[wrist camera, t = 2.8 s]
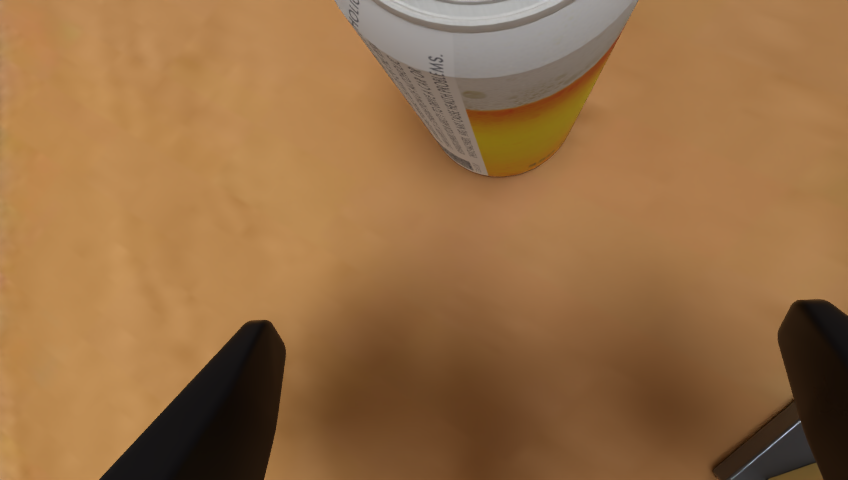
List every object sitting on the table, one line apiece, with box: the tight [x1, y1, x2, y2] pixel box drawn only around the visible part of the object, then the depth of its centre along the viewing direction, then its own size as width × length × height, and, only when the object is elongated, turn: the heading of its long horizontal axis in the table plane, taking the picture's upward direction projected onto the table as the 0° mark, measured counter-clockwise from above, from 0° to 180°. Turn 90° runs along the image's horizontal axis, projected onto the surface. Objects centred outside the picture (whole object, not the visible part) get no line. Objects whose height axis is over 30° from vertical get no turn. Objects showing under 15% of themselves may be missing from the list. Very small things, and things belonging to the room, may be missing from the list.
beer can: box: [335, 0, 638, 177], centre depth 15 cm, size 6×6×15 cm
